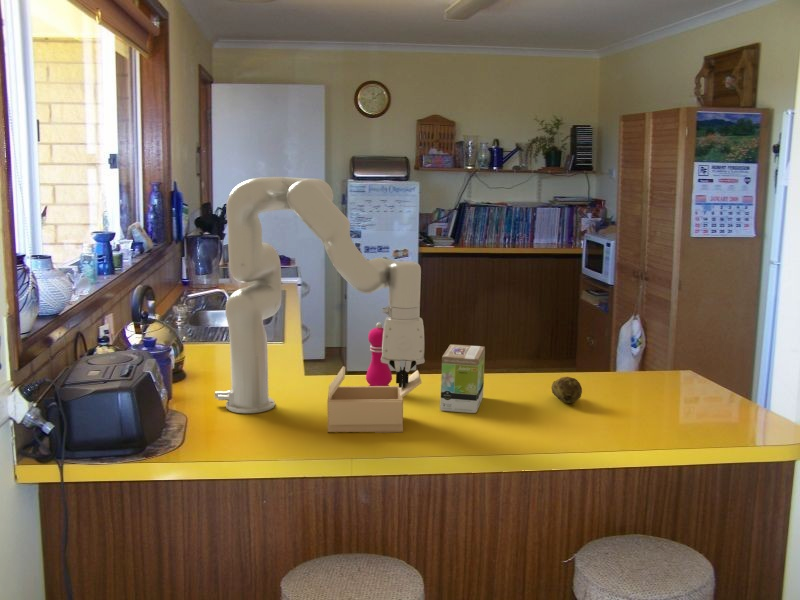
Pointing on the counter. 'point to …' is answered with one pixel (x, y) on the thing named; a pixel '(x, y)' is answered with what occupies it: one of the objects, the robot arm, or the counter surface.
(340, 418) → the carton
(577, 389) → the potato
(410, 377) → the right flap
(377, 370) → the pepper mill
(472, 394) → the tea box
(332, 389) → the left flap
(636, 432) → the counter surface
